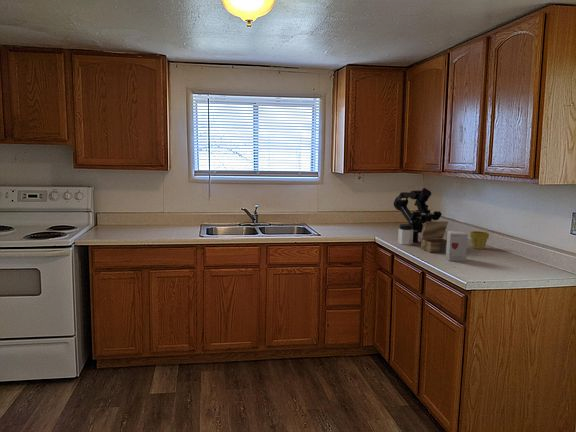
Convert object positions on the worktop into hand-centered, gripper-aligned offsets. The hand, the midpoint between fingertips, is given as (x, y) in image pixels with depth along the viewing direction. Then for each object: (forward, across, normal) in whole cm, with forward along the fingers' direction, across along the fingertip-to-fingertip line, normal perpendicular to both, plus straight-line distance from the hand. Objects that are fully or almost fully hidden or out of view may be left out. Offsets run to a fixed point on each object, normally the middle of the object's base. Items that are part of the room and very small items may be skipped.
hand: (430, 226), depth 293 cm
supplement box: (+33, +2, +14) cm, 36 cm away
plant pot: (+13, -30, -5) cm, 33 cm away
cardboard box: (+15, 0, -3) cm, 16 cm away
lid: (+5, 0, +3) cm, 6 cm away
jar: (-1, +8, -20) cm, 21 cm away
